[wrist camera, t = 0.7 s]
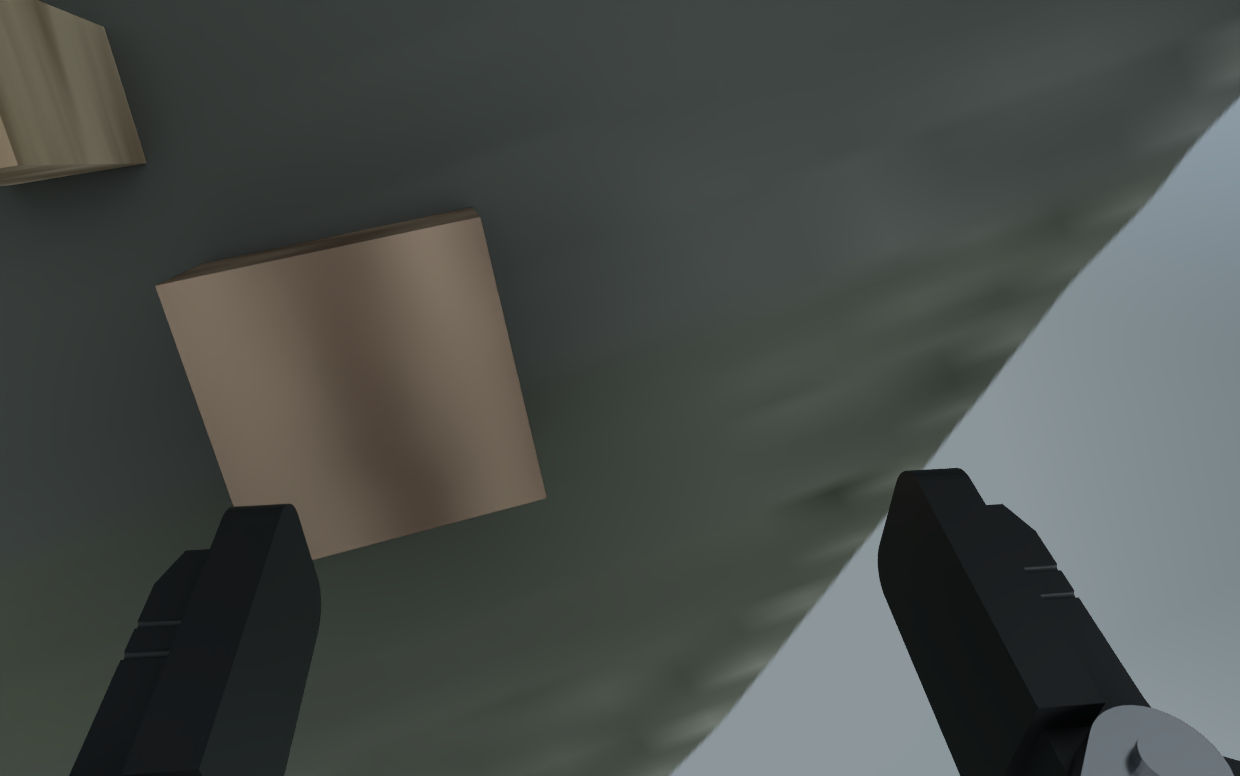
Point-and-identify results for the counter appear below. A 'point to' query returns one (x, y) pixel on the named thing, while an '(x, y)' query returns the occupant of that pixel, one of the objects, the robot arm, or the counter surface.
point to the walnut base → (360, 380)
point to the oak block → (59, 97)
